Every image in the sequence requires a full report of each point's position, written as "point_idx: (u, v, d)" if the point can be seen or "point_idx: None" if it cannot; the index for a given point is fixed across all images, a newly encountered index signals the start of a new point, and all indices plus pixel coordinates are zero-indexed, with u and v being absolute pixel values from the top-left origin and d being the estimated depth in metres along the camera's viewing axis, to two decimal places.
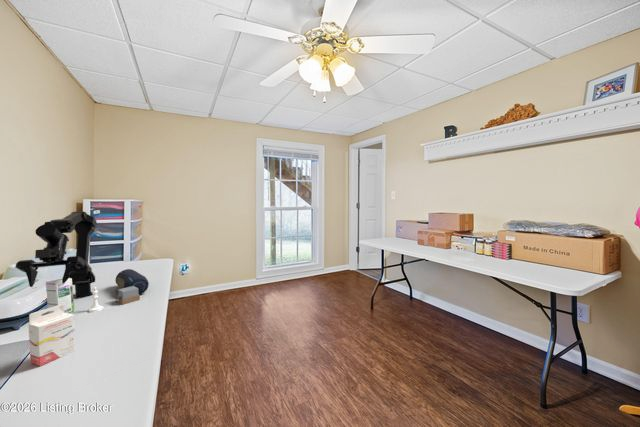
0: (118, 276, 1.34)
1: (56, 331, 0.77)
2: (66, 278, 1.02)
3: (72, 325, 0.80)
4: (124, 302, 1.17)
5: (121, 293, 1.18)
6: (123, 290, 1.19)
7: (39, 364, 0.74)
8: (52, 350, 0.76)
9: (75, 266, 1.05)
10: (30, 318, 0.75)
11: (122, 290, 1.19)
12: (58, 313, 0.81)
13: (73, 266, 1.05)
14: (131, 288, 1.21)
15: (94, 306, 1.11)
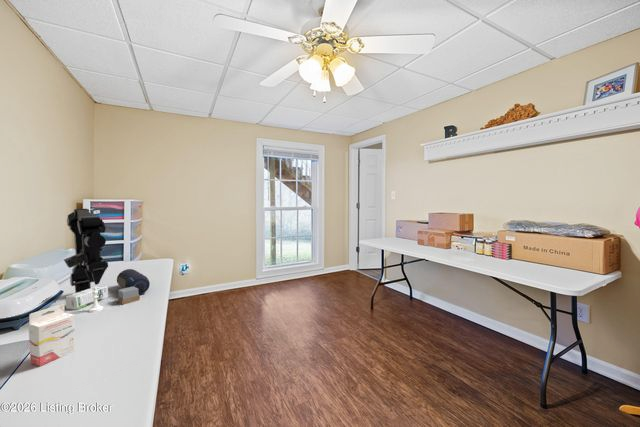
0: (119, 276, 1.35)
1: (56, 331, 0.77)
2: (97, 280, 1.07)
3: (72, 325, 0.80)
4: (124, 302, 1.17)
5: (121, 293, 1.18)
6: (123, 290, 1.19)
7: (39, 364, 0.74)
8: (53, 350, 0.76)
9: None
10: (30, 318, 0.75)
11: (122, 290, 1.19)
12: (58, 313, 0.81)
13: None
14: (131, 288, 1.21)
15: (94, 306, 1.11)
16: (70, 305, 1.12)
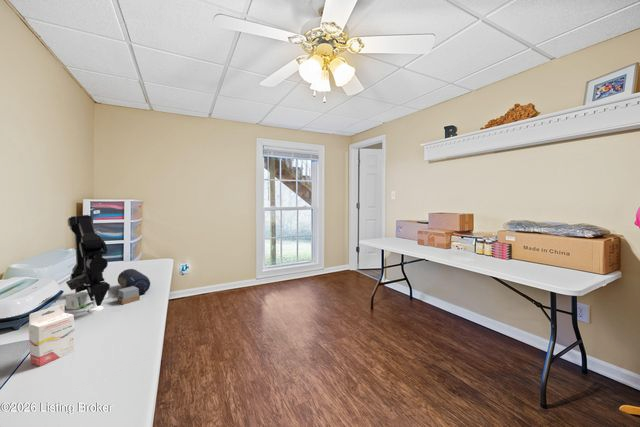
0: (120, 276, 1.35)
1: (56, 331, 0.77)
2: (98, 302, 1.08)
3: (72, 325, 0.80)
4: (124, 302, 1.17)
5: (121, 293, 1.18)
6: (123, 290, 1.19)
7: (39, 364, 0.74)
8: (52, 350, 0.76)
9: None
10: (30, 318, 0.75)
11: (122, 290, 1.19)
12: (58, 313, 0.81)
13: None
14: (131, 288, 1.21)
15: (94, 306, 1.11)
16: (70, 305, 1.12)
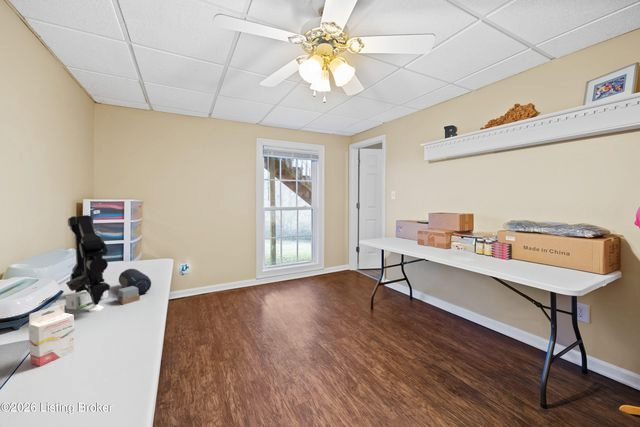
0: (121, 275, 1.35)
1: (56, 331, 0.77)
2: (96, 300, 1.10)
3: (72, 325, 0.80)
4: (124, 302, 1.17)
5: (121, 293, 1.18)
6: (123, 290, 1.19)
7: (39, 364, 0.74)
8: (52, 350, 0.76)
9: None
10: (30, 318, 0.75)
11: (122, 290, 1.19)
12: (58, 313, 0.81)
13: None
14: (131, 288, 1.22)
15: (94, 306, 1.11)
16: (70, 305, 1.12)
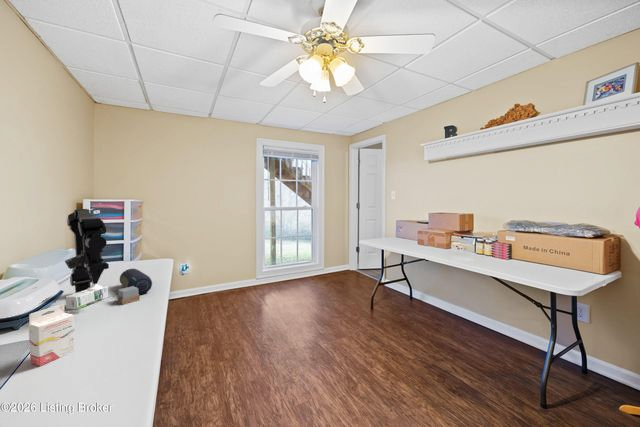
0: (122, 275, 1.36)
1: (56, 331, 0.77)
2: (95, 280, 1.10)
3: (72, 325, 0.80)
4: (124, 302, 1.17)
5: (121, 293, 1.18)
6: (123, 290, 1.19)
7: (39, 364, 0.74)
8: (52, 350, 0.76)
9: None
10: (30, 318, 0.75)
11: (122, 290, 1.19)
12: (58, 313, 0.81)
13: None
14: (131, 288, 1.21)
15: (93, 285, 1.10)
16: (70, 305, 1.12)
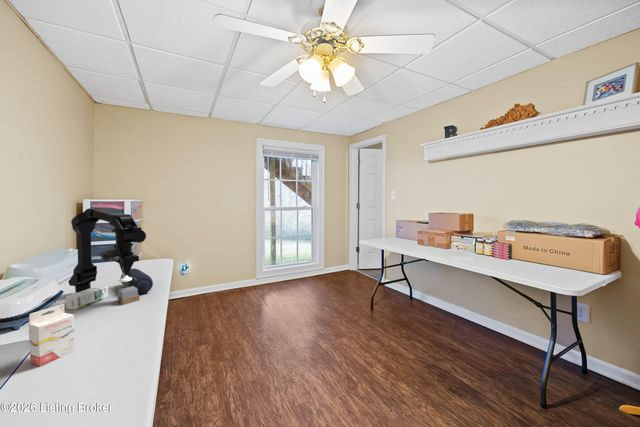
0: None
1: (56, 331, 0.77)
2: (126, 271, 1.19)
3: (72, 325, 0.80)
4: (124, 302, 1.17)
5: (120, 293, 1.18)
6: (122, 290, 1.19)
7: (39, 364, 0.74)
8: (52, 350, 0.76)
9: None
10: (30, 318, 0.75)
11: (121, 290, 1.19)
12: (58, 313, 0.81)
13: None
14: (131, 288, 1.21)
15: (124, 277, 1.19)
16: (70, 305, 1.12)
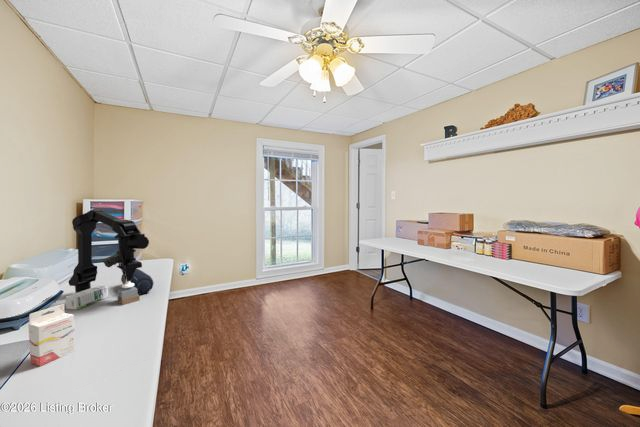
0: None
1: (56, 331, 0.77)
2: (129, 277, 1.20)
3: (72, 325, 0.80)
4: (124, 302, 1.17)
5: (120, 293, 1.18)
6: (122, 290, 1.19)
7: (39, 364, 0.74)
8: (52, 350, 0.76)
9: None
10: (30, 318, 0.75)
11: (121, 290, 1.19)
12: (58, 313, 0.81)
13: None
14: (130, 288, 1.21)
15: (126, 283, 1.20)
16: (70, 305, 1.12)
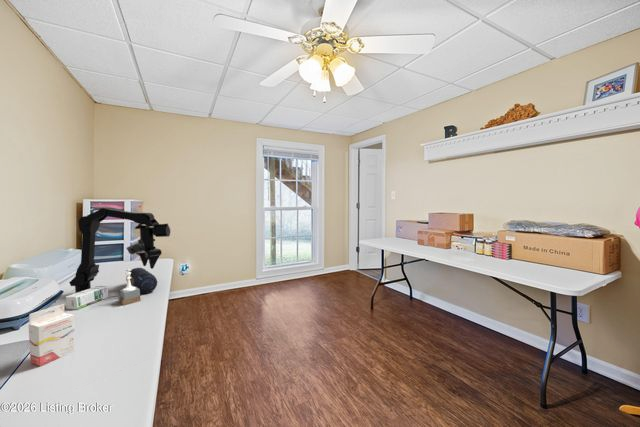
0: None
1: (56, 331, 0.77)
2: (152, 265, 1.30)
3: (72, 325, 0.80)
4: (125, 303, 1.16)
5: (122, 294, 1.17)
6: None
7: (39, 364, 0.74)
8: (52, 350, 0.76)
9: None
10: (30, 318, 0.75)
11: None
12: (58, 313, 0.81)
13: (152, 256, 1.29)
14: None
15: (127, 286, 1.19)
16: (70, 305, 1.12)
